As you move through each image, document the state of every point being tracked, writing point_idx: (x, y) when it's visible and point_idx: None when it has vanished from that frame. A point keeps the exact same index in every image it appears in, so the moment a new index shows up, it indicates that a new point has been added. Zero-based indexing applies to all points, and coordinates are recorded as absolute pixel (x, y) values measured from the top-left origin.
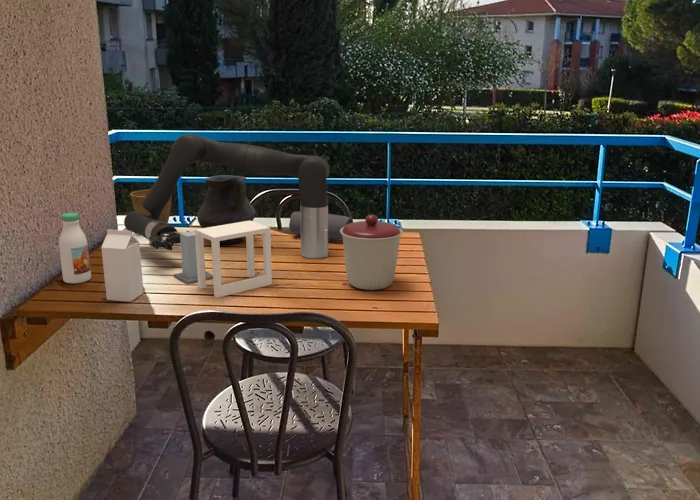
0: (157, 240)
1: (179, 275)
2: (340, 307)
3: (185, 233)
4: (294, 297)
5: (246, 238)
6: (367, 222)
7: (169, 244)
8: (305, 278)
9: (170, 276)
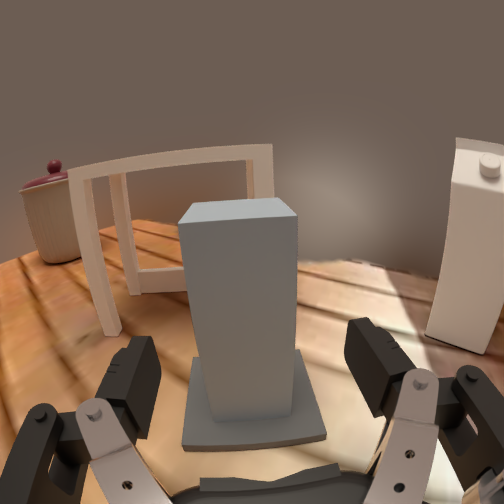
0: (466, 386)
1: (306, 412)
2: (153, 236)
3: (268, 209)
4: (161, 256)
5: (90, 224)
6: (60, 167)
7: (364, 318)
8: (75, 287)
9: (337, 450)
